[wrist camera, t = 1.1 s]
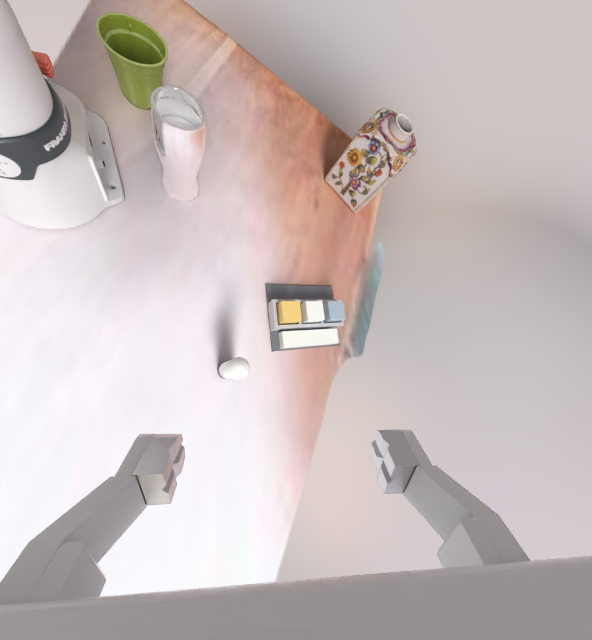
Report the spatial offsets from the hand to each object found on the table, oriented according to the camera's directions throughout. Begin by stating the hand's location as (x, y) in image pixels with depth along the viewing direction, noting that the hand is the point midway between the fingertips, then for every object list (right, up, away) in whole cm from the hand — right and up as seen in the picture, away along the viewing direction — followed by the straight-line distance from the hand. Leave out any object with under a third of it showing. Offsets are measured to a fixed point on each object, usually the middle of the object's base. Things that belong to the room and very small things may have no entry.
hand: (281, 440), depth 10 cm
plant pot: (-28, +47, +36) cm, 65 cm away
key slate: (+7, +6, +40) cm, 41 cm away
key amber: (-1, +6, +36) cm, 37 cm away
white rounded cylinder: (-11, -3, +32) cm, 34 cm away
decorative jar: (+14, +40, +54) cm, 68 cm away
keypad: (+2, +6, +40) cm, 40 cm away
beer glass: (-21, +30, +35) cm, 50 cm away
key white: (+3, +6, +38) cm, 39 cm away
